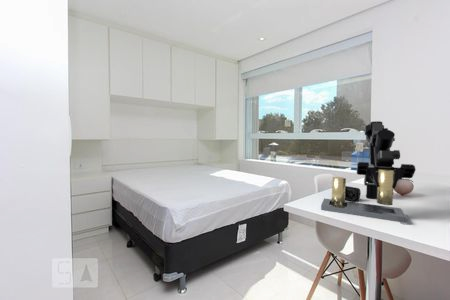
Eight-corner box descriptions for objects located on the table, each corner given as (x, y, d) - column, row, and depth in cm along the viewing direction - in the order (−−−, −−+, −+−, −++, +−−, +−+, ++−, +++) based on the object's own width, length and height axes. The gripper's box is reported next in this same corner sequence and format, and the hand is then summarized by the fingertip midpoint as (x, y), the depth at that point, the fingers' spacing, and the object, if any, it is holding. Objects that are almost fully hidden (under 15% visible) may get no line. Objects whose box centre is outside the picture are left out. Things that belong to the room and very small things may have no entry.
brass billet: (374, 203, 87) (376, 169, 86) (378, 200, 90) (380, 168, 89) (390, 206, 83) (392, 171, 82) (394, 203, 86) (395, 170, 86)
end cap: (360, 201, 108) (361, 187, 108) (354, 203, 104) (355, 189, 103) (339, 196, 116) (339, 183, 115) (332, 199, 111) (333, 185, 111)
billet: (331, 209, 94) (332, 178, 93) (331, 205, 98) (332, 176, 97) (344, 211, 91) (345, 179, 90) (344, 207, 96) (345, 177, 95)
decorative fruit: (398, 197, 115) (398, 178, 115) (388, 193, 123) (389, 175, 123) (418, 198, 114) (419, 178, 113) (407, 194, 122) (408, 176, 122)
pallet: (320, 211, 92) (321, 205, 92) (324, 203, 103) (324, 198, 103) (406, 224, 79) (407, 217, 78) (400, 214, 89) (400, 208, 89)
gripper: (358, 142, 93) (359, 172, 84) (415, 143, 84) (423, 177, 75) (356, 159, 100) (356, 188, 91) (408, 162, 92) (415, 194, 83)
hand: (385, 187), depth 85 cm, fingers closed on brass billet, 5 cm apart
